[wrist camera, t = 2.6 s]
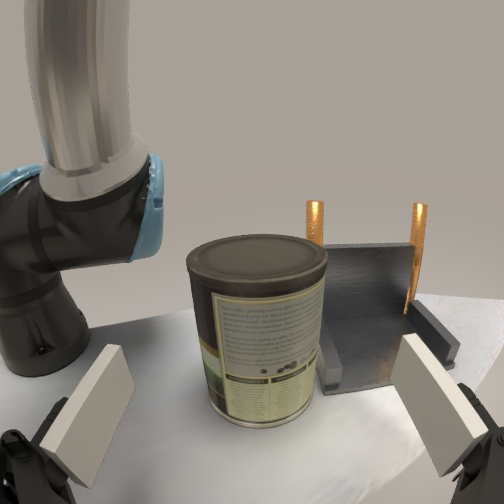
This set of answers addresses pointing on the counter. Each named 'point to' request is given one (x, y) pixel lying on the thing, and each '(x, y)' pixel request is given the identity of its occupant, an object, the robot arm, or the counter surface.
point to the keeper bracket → (372, 308)
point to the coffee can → (258, 324)
